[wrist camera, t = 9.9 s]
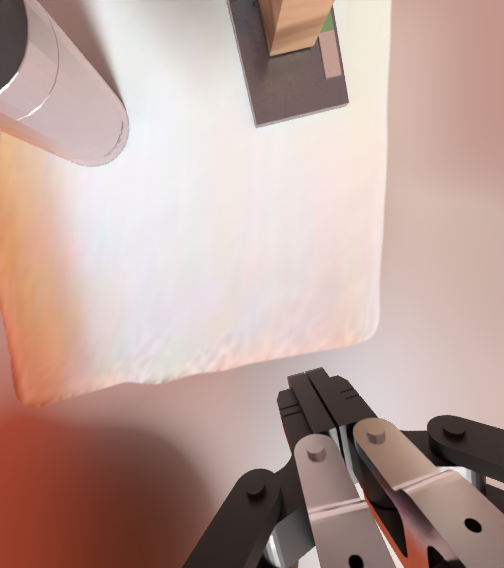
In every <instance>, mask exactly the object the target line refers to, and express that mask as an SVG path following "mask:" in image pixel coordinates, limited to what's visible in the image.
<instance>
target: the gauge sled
mask: <svg viewBox="0 0 504 568" xmlns="http://www.w3.org/2000/svg"><path fill="white" fill-rule="evenodd" d="M334 1H335V0H258V2H259V7H260V12H261V17H262V22H263V26H264V31H265V36H266V41H267V46H268V50H269V55H270V56H273V55H278V54H282V53H286V52H290V51H294V50H299V49H303V48H307V47H311V46H314V44H315V42H316V40H317V38H318V35H319V33H320V31H321V29H322V27H323V25H324V22H325V20H326V18H327V16H328V14H329V11H330V9H331V7H332V5H333V3H334Z"/></svg>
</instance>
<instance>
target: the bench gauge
mask: <svg viewBox="0 0 504 568" xmlns="http://www.w3.org/2000/svg"><path fill="white" fill-rule="evenodd" d="M227 2H228V6H229V11H230V15H231V20H232V24H233V28H234V33H235V37H236V42H237V46H238V51H239V55H240V59H241V64H242V68H243V73H244V77H245V81H246V86H247V90H248V95H249V99H250V104H251V108H252V112H253V117H254V121H255V126H256V128H259V127H263V126H267V125H271V124H275V123H279V122H283V121H287V120H291V119H296V118H300V117H304V116H308V115H312V114H316V113H320V112H324V111H328V110H333V109H337V108H341V107H345V106H346V105H347V104H348V103H349V100H348V94H347V88H346V82H345V76H344V70H343V64H342V58H341V52H340V46H339V40H338V34H337V28H336V22H335V16H334V10H333V5H332V7H331V9H330V11H329V14H328V16H327V18H326V20H325V22H324V25H323V27H322V29H321V31H320V33H319V35H318V38H317V40H316V42H315V44H314V46H311V47H307V48H303V49H299V50H294V51H290V52H286V53H282V54H278V55H273V56H270V55H269V50H268V46H267V41H266V36H265V31H264V26H263V22H262V17H261V12H260V7H259V2H258V0H227Z"/></svg>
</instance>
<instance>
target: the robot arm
mask: <svg viewBox="0 0 504 568" xmlns="http://www.w3.org/2000/svg"><path fill="white" fill-rule="evenodd" d="M0 131H2V132H4V133H6V134H9V135H11V136H13V137H16V138H18V139H20V140H23V141H25V142H27V143H29V144H32V145H34V146H36V147H39V148H41V149H43V150H46V151H48V152H50V153H52V154H54V155H57V156H59V157H61V158H64V159H66V160H68V161H71V162H73V163H76V164H79V165H82V166H89V167H91V166H100V165H103V164H107V163H108V162H110V161H112V160H114V159H115V158H116V157H117V156H118V155H119V154H120V153H121V151H122V150H123V148H124V147H125V144H126V141H127V139H128V132H129V122H128V117H127V113H126V110H125V108H124V106H123V104H122V102H121V101H120V99H119V98H118V96H117V95H116V94H115V93H114V91H113V90H112V89H111V88H110V87H109V85H108V84H107V83H106V82H105V81H104V79H103V78H102V77H101V76H100V74H99V73H98V72H97V71H96V70H95V68H94V67H93V66H92V65H91V64H90V62H89V61H88V60H87V59H86V58H85V56H84V55H83V54H82V53H81V52H80V50H79V49H78V48H77V47H76V46H75V45H74V43H73V42H72V41H71V40H70V39H69V37H68V36H67V35H66V34H65V33H64V31H63V30H62V29H61V28H60V27H59V25H58V24H57V23H56V22H55V21H54V19H53V18H52V17H51V16H50V15H49V13H48V12H47V11H46V10H45V9H44V7H43V6H42V5H41V4H40V3H39V2H38V0H0ZM287 378H288V384H289V388H290V389H287V390H284V391H280V392H279V395H278V398H277V403H278V407H279V411H280V415H281V419H282V423H283V428H284V432H285V435H286V438H287V441H288V444H289V447H290V450H291V453H292V456H291V459H290V460H289V462H288V463H287V464H286V465H285V467H283V468H282V469H281V470H279V471H278V472H276V473H273V472H271V471H269V470H266V469H254V470H251V471H249V472H247V473H245V474H244V475H243V476H242V477H241V478H240V479H239V480H238V481H237V482H236V484H235V486H234V487H233V489H232V490H231V492H230V493H229V495H228V497H227V498H226V500H225V501H224V503H223V504H222V506H221V508H220V509H219V511H218V512H217V514H216V515H215V517H214V519H213V520H212V522H211V523H210V525H209V527H208V528H207V530H206V531H205V533H204V534H203V536H202V537H201V539H200V540H199V542H198V544H197V545H196V547H195V548H194V550H193V551H192V553H191V554H190V556H189V558H188V559H187V561H186V562H185V564H184V565H183V567H182V568H298V562H299V561H298V560H299V559H300V558H301V557H302V556H304V555H305V554H306V553H307V552H308V551H310V550H311V549H312V548H313V547H314V546H316V549H317V554H318V558H319V562H320V566H321V568H396V566H395V564H394V561H393V559H392V557H391V555H390V553H389V550H388V548H387V546H386V544H385V541H384V539H383V537H382V535H381V533H380V530H379V528H378V526H379V527H380V529H381V531H382V532H383V534H384V535H385V537H386V539H387V540H388V542H389V544H390V545H391V547H392V548H393V550H394V552H395V554H396V555H397V557H398V558H399V560H400V562H401V563H402V565H403V567H404V568H504V491H503V490H501V489H499V488H496V487H493V486H491V485H489V484H486V476H487V477H490V478H492V479H495V480H498V481H500V482H503V483H504V430H503V429H500V428H496V427H493V426H489V425H485V424H482V423H478V422H475V421H471V420H468V419H464V418H461V417H457V416H451V415H443V416H437V417H434V418H433V419H431V420H430V421H429V422H428V425H427V431H402V430H399V429H398V428H397V427H396V426H395V425H393V424H392V423H391V422H389V421H387V420H384V419H380V418H378V417H377V416H376V414H375V413H374V412H373V411H372V410H371V408H370V407H369V406H368V405H367V404H366V402H365V401H364V400H363V399H362V397H361V396H359V394H358V393H357V391H356V390H354V388H353V387H352V385H351V384H350V383H349V382H348V380H346V379H344V378H342V377H340V376H338V375H337V376H333V377H329V376H328V374H327V373H326V372H325V370H324V369H323V368H322V367H320V368H317V369H313V370H310V371H306V373H304V372H303V373H299V374H295V375H292V376H288V377H287ZM356 483H359V484H360V486H361V488H362V489H363V492H364V498H365V500H361V499H360V496H359V494H358V492H357V490H356V487H355V485H354V484H356ZM376 522H377V524H378V526H377V524H376Z"/></svg>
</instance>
